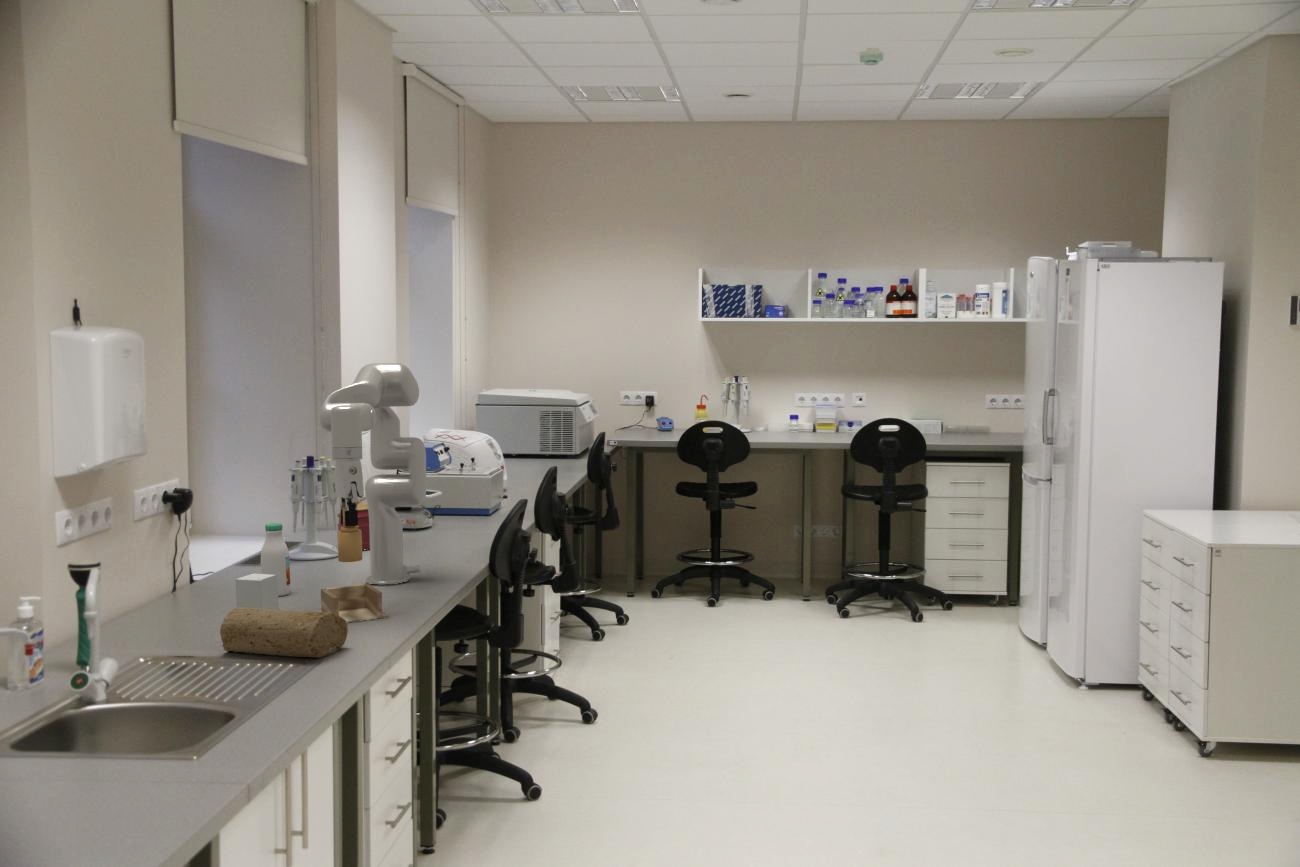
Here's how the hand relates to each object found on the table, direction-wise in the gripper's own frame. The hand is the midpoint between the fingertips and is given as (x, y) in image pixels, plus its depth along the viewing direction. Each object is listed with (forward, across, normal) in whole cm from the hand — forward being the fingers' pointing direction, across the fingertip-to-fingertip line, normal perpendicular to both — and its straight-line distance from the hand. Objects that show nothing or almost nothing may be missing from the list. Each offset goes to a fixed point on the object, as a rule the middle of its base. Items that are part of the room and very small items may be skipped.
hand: (349, 524), depth 304 cm
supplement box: (+24, +2, +23) cm, 33 cm away
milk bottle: (+24, +38, +11) cm, 46 cm away
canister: (+24, +96, -29) cm, 104 cm away
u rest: (+24, 0, 0) cm, 24 cm away
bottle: (+9, 0, 0) cm, 9 cm away
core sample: (+25, -25, +23) cm, 42 cm away
